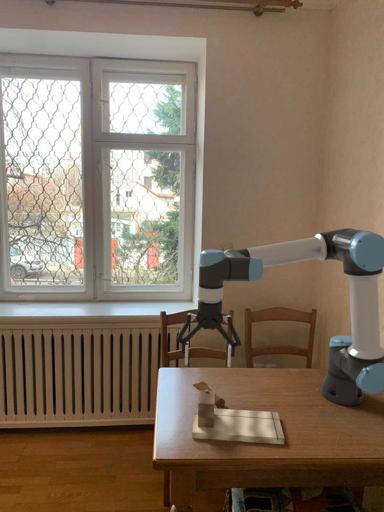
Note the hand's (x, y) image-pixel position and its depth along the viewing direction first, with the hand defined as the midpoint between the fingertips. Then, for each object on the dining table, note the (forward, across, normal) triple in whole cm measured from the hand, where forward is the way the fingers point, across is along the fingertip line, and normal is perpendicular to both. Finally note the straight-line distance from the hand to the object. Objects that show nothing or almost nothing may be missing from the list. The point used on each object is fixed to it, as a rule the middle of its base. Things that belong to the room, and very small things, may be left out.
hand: (207, 364), depth 122 cm
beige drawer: (+19, 0, 0) cm, 19 cm away
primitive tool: (+22, 0, -19) cm, 29 cm away
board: (+21, -10, 0) cm, 23 cm away
